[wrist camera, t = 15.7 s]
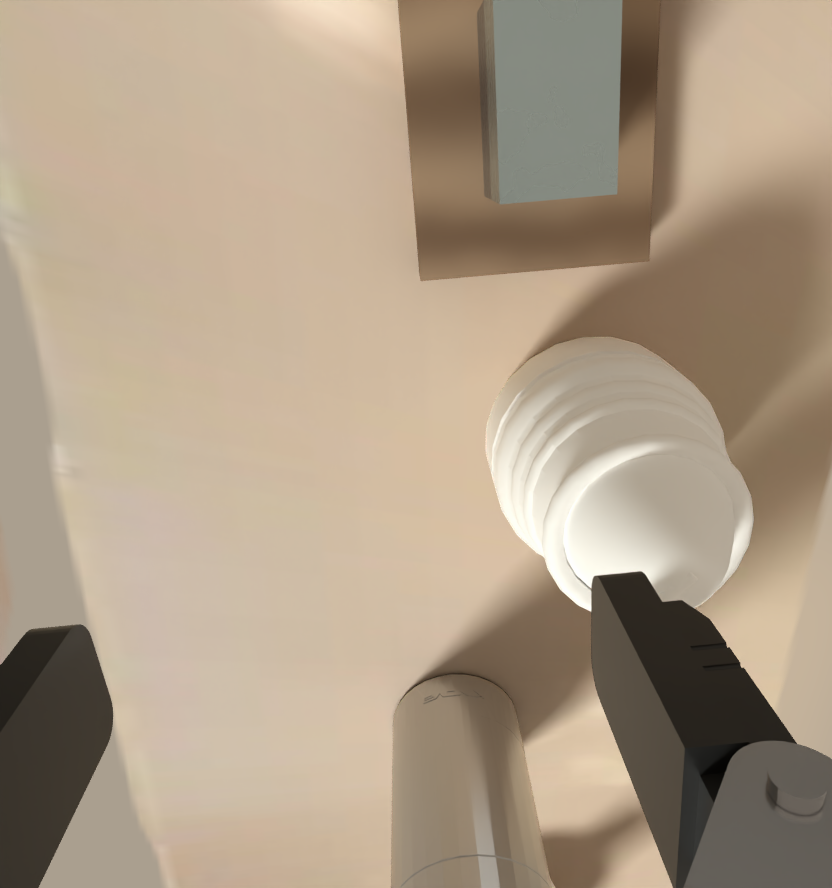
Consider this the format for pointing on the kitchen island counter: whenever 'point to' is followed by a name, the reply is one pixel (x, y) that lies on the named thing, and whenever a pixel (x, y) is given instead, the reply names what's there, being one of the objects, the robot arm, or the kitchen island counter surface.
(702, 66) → the kitchen island counter surface
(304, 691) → the kitchen island counter surface
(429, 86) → the walnut stand
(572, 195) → the block
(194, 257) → the kitchen island counter surface
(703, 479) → the honey pot
